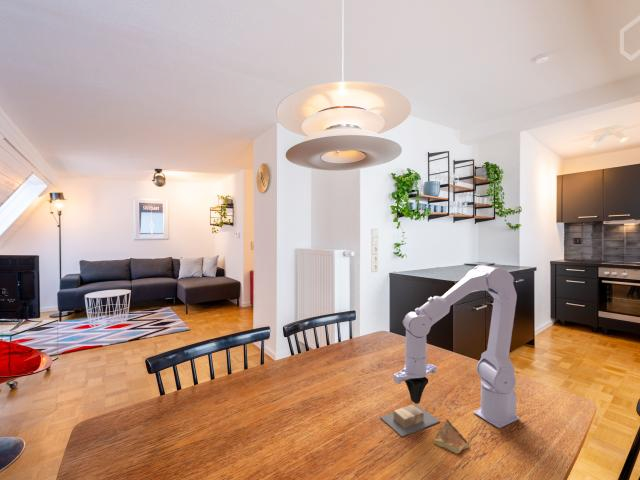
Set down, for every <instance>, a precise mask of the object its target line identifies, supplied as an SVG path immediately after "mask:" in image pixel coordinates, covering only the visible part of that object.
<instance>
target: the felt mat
mask: <svg viewBox="0 0 640 480" xmlns="http://www.w3.org/2000/svg"><path fill="white" fill-rule="evenodd" d="M413 405H414V404H413ZM414 406H415V407H417V408H418V409H419V410H421V411H422V412H424V421H422V422H419V423H417V424H414V425H411V426H409V427H406V428H404V427H403V426H401V425H400V424H399V423H398V422H397V421H395V420H394V412H392V413H388V414H385V415H382V416H380V419H381V420H382V421H383V422H384V423H386V425H387V426H389V428H391V429H392V430H393V431H394V432H396V433H397V434H398V435H399V436H400V438H401V437H402V438H403V437H405V436H408V435H410V434H413V433H416V432H418V431H422V430H423V429H426V428H429V427H430V426H433V425H436V424H438V423H441V420H439V419H438V418H436V417H435V416H434V415H432V414H431V413H429V412H428V411H426V410H425V409H424V408H422V407H420V406H419V405H418V404H415V405H414Z"/></svg>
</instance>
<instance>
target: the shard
mask: <svg viewBox="0 0 640 480" xmlns="http://www.w3.org/2000/svg"><path fill="white" fill-rule="evenodd" d="M433 439H434V440H433V442H434V444H435V445H437V446H439V447H443V448H444V449H447V450H449V451H451V452H453V453H455V454H459V453H461V451H462V450H466V449H469V447H470V443H469V442H468V441H467V440H466V438H464V437H463V435H462V434H461V433H460V432H459V430H458V429H457V428H456V427H455V426H454V425H453V424H452V423H451V422H450V421H449V419H448V418H446V420H445V421H444V423H443V424H442V425H441V427H440V428H439V429H438V430H437V433H436V434H435V437H434V438H433Z"/></svg>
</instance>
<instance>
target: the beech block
mask: <svg viewBox="0 0 640 480" xmlns="http://www.w3.org/2000/svg"><path fill="white" fill-rule="evenodd" d="M393 413H394V420H395V421H397V422H398V423H399V424H400V425H401V426H403V427H404V428H406V427H409V426H411V425H414V424H417V423H419V422H422V421H424V412H422V411H421V410H419V409H418V408H417V407H415V406H414V404H409V405H406V406H403V407H400V408H398V409H394V410H393Z"/></svg>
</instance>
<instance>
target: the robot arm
mask: <svg viewBox="0 0 640 480" xmlns="http://www.w3.org/2000/svg"><path fill="white" fill-rule="evenodd" d="M514 279H515V278H514V276H513V275H512V274H511V273H510V272H509V271H508V270H507V269H505V268H503V267H497V266H490V265H487V264H478V265H476V266H474V268H473V269H470V270H469V271H468V272H467V273H466V274H465V276H464V277H463V278H461V279H460V280H459V281H458V282H457V283H455V285H453V286H452V287H451V288H449V289H448V291H446V292H445V293H444V294H443V295H441V296H439V295H434V296H433V297H432V296H430V297H428V298H427V301H426V302H425V303H424V304H422V305H421V306H419V307H416V308H415V309H414V311H410V312H408V313H406V315H404V318H403V320H402V325H403V326H404V328H405V354H404V355H405V356H404V357H405V359H404V360H405V361H404V363H405V364H404V365H403V369H401V370H400V371H398V372H396V373H394V374H393V382H395V383H396V384H398V385H400V384H402V382H405V385H406V387H407V389H408V392H409V397H410V401H411V402H412V403H414V404H415V405H418V404H420V402H421V400H422V396H423V392H424V391H425V388H426V386H427V385H428V384H429V378H427V377H426V376H428V375H429V374H431V373H432V374H436V373H437V366H436V365H435V364H432V363H428V364H427V335H428V334H429V333H430V331H431V327H433V325H434V324H436V323H437V322H439V321H440V320H441V319H443V317H446V315H448V314H449V313H450V310H451V306H452V305H454V304H455V303H457V302H458V301H460V300H462V299H464V297H466V296H467V295H469V294H471V293H472V292H474V291H487V292H488V294H490V296H491V297H492V298H493V304H492V311H491V320H490V326H489V331H488V332H489V333H488V334H489V335H488V342H487V347H486V348H487V349H486V350H485V351H484V352H482V353H481V355H480V356H481V357H480V360H479V361H478V362H477V364H476V372H477V374H478V375H479V376H480V408H479V409H476V410H473V414H475V415H476V416H478V417H480V418H481V419H483V420H485V422H488V423H490V424H491V425H493V426H494V427H497V428H498V429H501V428H504V427H505V426H507V425H509V424H511V423H514V422H516V421H518V420H520V417H519V416H518V415H517V393H516V390H515V388H516V385H517V379H516V376H515V366H514V364H513V363H512V360H511V359H510V350H511V343H512V335H513V334H512V333H513V330H514V329H513V328H514V319H515V313H516V305H517V299H518V298H517V297H518V295H517V291H516V289H515V285H514V281H515V280H514Z"/></svg>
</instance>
